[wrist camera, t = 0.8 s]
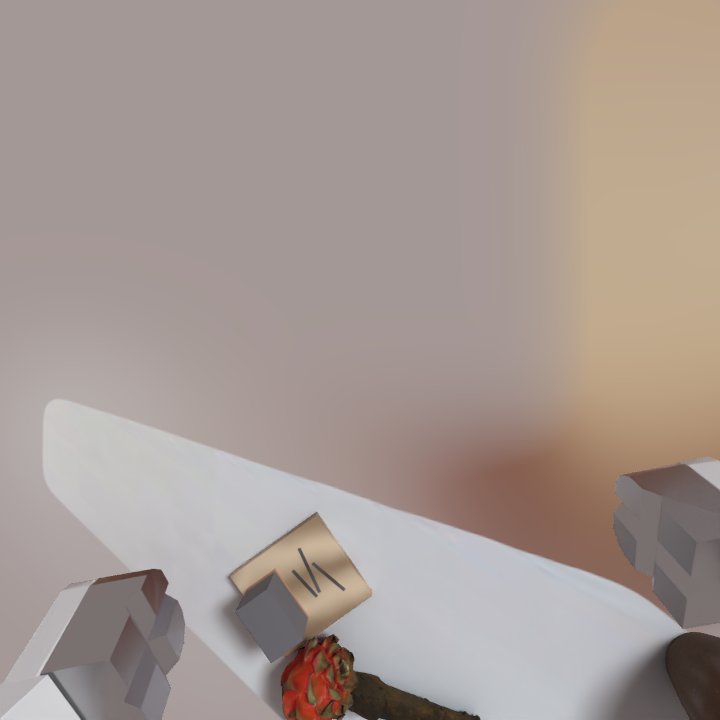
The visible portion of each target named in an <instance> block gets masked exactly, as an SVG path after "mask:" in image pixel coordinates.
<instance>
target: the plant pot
mask: <svg viewBox="0 0 720 720" xmlns="http://www.w3.org/2000/svg"><path fill="white" fill-rule="evenodd" d="M666 668H667V671H668V674H669V676H670V679H671V681H672V684H673V686H674V688H675V690H676V693H677V695H678V697H679V699H680V701H681V703H682V705H683V707H684V709H685V711H686V713H687V715H688V717H689V719H690V720H720V638H719V637H715V636H712V635H708V634H704V633H699V632H690V633H686V634H683V635H681V636H679V637H678V638H677V639H675V640H674V641H673V642H672V644H671V645H670V647H669V649H668V651H667V654H666Z"/></svg>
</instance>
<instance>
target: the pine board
mask: <svg viewBox="0 0 720 720" xmlns="http://www.w3.org/2000/svg"><path fill="white" fill-rule="evenodd" d="M275 568H276V570H277V571H278V573H279V574H280V575H281V577H282V578H283V580H284V581H285V583H286V584H287V585H288V587H289V588H290V590H291V591H292V593H293V594H294V595H295V597H296V598H297V600H298V601H299V603H300V604H301V605H302V607H303V608H304V610H305V611H306V613H307V614H308V615H309V619H308V621H307V625H306V630H305V634H304V638H303V641H302V642H300V643H299V644H297V645H296V646H295V647H293V648H292V649H290V650H289V651H288V652H286V653H285V654H284V655H285V656H288V655H289V654H291V653H292V652H293V651H295V650H296V649H298V648H299V647H300V646H302V645H303V644H305V643H306V642H307V641H309V640H310V639H312V638H313V637H314V636H316V635H317V634H319V633H320V632H321V631H323V630H324V629H326V628H327V627H328V626H330V625H331V624H333V623H334V622H335V621H337V620H338V619H340V618H341V617H343V616H344V615H345V614H347V613H348V612H350V611H351V610H352V609H354V608H355V607H357V606H358V605H359V604H361V603H362V602H364V601H365V600H366V599H368V598H369V597H371V596H372V590H371V588H370V587H369V585H368V584H367V582H366V581H365V580H364V578H363V577H362V575H361V574H360V573H359V571H358V570H357V568H356V567H355V565H354V564H353V563H352V561H351V560H350V558H349V557H348V556H347V554H346V553H345V551H344V550H343V548H342V547H341V546H340V544H339V543H338V541H337V540H336V538H335V537H334V536H333V534H332V533H331V531H330V530H329V529H328V527H327V526H326V524H325V523H324V521H323V520H322V519H321V517H320V516H319V514H318V513H317V512H316V513H315V514H313V515H312V516H311V517H309V518H308V519H306V520H305V521H304V522H302V523H301V524H299V525H298V526H297V527H295V528H294V529H292V530H291V531H290V532H288V533H287V534H285V535H284V536H283V537H281V538H280V539H278V540H277V541H276V542H274V543H273V544H271V545H270V546H269V547H267V548H266V549H264V550H263V551H261V552H260V553H259V554H257V555H256V556H254V557H253V558H252V559H250V560H249V561H247V562H246V563H245V564H243V565H242V566H240V567H239V568H238V569H236V570H235V571H234V572H233V573H232V575H231V576H230V577H231V579H232V580H233V581H234V583H235V584H236V586H237V587H238V589H239V590H240V591H241V593H242V594H243V596H244V595H245V593H246V589H247V588H249V587H250V586H251V585H253V584H254V583H256V582H257V581H259V580H260V579H261V578H263V577H264V576H266V575H267V574H268V573H270V572H271V571H273V570H274V569H275Z"/></svg>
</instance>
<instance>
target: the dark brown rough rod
mask: <svg viewBox="0 0 720 720" xmlns="http://www.w3.org/2000/svg"><path fill="white" fill-rule="evenodd" d="M355 673H356V675H357V678H358V686H357V687H356V688H354V689H353V691H352V692H350V694H351V695H352V699H353V705H352V706H350V708H348V710H350V711H353V712H355V713H357V714H358V715H360V716H362V717H363V718H365V719H367V720H378V719H379V718H381V719H385V720H480V717H479V716H478V715H476V716H473V717H470V716H469V714H468V713H467V712H465V711H464V712H463V713H459V712H456V711H453V710H451V709H449V708H446V707H442V706H439V705H437V704H435V703H432V702H430V701H429V700H428V699H426V698H424V699H423V698H420V697H417V696H415V695H413V694H409V693H407V692H404V691H401V690H399V689H397V688H394V687H391V686H389V685H386V684H385V683H384V682H382V681H381V680H380V678H379V677H377V676H375V675H371V674H367V673H361V672H355Z"/></svg>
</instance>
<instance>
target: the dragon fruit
mask: <svg viewBox="0 0 720 720" xmlns="http://www.w3.org/2000/svg"><path fill="white" fill-rule="evenodd" d="M338 641H339V639H338V638H337V637H336V636H335V635H334V634H333V635H331V636H329V637H327V638H326V639H325V640H324V641H323V642H322V644H321V645H319V644H318V642H319V639H318V638H316V637H315V638H313V639H310V640H309V642H308V644H307V646H306V647H302V648H299V650H298V655H297V657H296V659H295V660H293V661H292V662H291V663H290V664H289V665H288V666H287V667H286V668H285V670H284V672H283V675H282V677H281V686H282V701H283V712H284V715H285V717H286V719H287V720H332V719H337V720H342V718H343V717H344V716H345V714H344V713H345V712H346V710H347V709H348V708H350V706H352V705H353V699H352V695H351V694H350V692H352V691H353V689H354V688H356V687H357V686H358V678H357V675H356V673H355V671H354V670H353V662H354V656H353V653H352V652H349V651H348V650H347V649H346V648H344V647H341V646H339V644H337V642H338ZM303 648H304V649H303ZM339 648H340V649H339Z"/></svg>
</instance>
